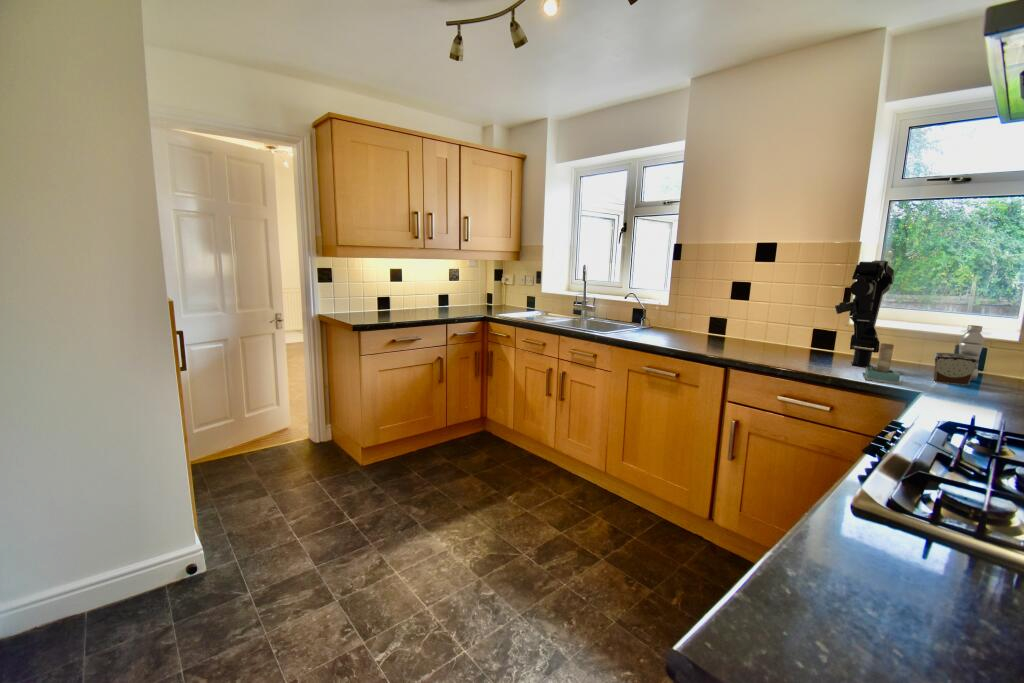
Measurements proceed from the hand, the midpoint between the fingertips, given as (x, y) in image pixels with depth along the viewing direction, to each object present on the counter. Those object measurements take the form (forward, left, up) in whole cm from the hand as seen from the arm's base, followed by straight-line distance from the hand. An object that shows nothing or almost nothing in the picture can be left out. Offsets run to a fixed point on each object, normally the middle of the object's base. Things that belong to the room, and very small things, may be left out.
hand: (857, 337), depth 174 cm
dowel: (+10, +8, -12) cm, 18 cm away
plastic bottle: (-12, +34, -13) cm, 38 cm away
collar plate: (+10, +8, -13) cm, 18 cm away
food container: (-4, +28, -13) cm, 31 cm away
